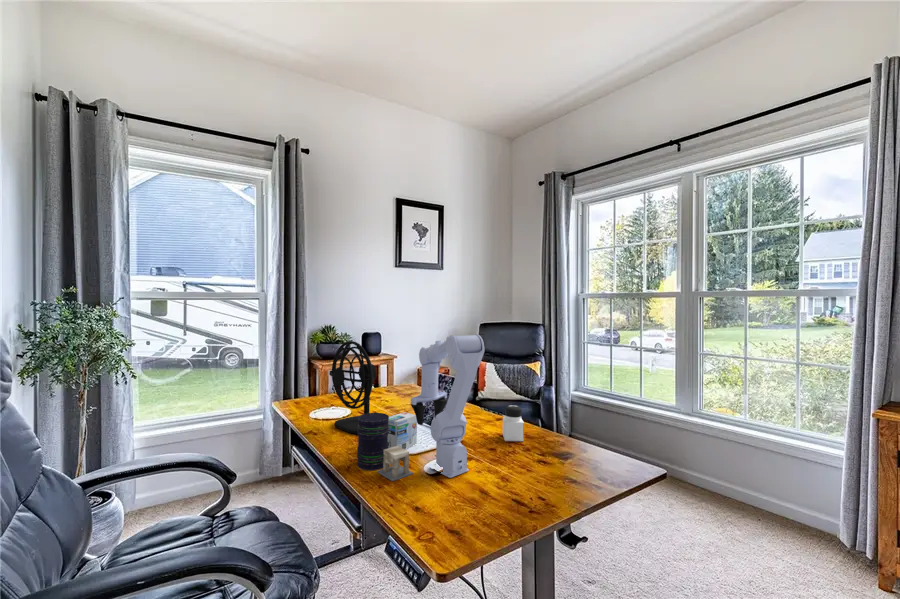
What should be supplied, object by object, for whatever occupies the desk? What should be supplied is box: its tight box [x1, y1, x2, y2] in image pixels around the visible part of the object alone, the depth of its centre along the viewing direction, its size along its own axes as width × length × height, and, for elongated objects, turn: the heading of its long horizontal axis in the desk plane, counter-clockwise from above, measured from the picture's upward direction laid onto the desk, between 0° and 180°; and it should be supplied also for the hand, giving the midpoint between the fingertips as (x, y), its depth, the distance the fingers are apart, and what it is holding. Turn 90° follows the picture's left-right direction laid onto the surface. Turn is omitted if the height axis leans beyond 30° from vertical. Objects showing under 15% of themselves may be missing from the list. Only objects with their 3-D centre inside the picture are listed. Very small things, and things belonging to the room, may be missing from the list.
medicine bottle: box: [502, 405, 525, 442], centre depth 156 cm, size 7×7×12 cm
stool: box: [382, 446, 410, 478], centre depth 123 cm, size 6×5×6 cm
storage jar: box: [356, 412, 390, 471], centre depth 130 cm, size 10×10×15 cm
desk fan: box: [329, 340, 377, 435], centre depth 166 cm, size 27×18×35 cm, turn 47°
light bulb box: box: [388, 411, 418, 450], centre depth 145 cm, size 11×7×11 cm, turn 143°
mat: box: [376, 464, 414, 482], centre depth 123 cm, size 8×8×1 cm
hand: (428, 422), depth 140 cm, fingers open, 7 cm apart
